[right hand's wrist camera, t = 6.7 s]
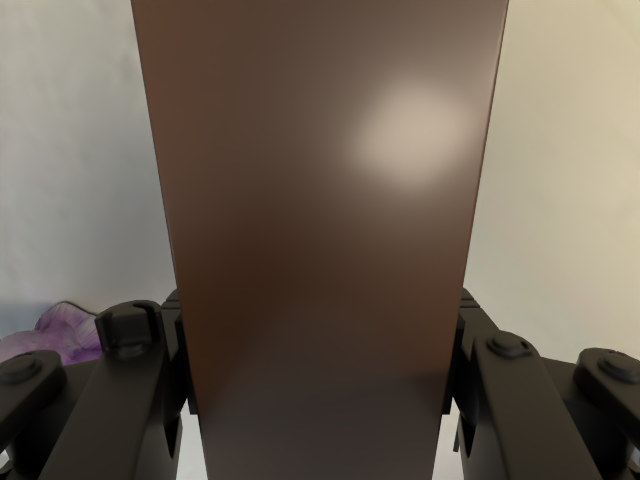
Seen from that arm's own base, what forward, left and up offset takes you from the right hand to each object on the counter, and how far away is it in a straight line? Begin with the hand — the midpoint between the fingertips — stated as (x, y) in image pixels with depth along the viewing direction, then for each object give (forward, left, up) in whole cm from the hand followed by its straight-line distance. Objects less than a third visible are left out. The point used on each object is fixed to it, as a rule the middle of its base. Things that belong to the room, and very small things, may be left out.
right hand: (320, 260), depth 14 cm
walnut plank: (0, -10, 0) cm, 10 cm away
